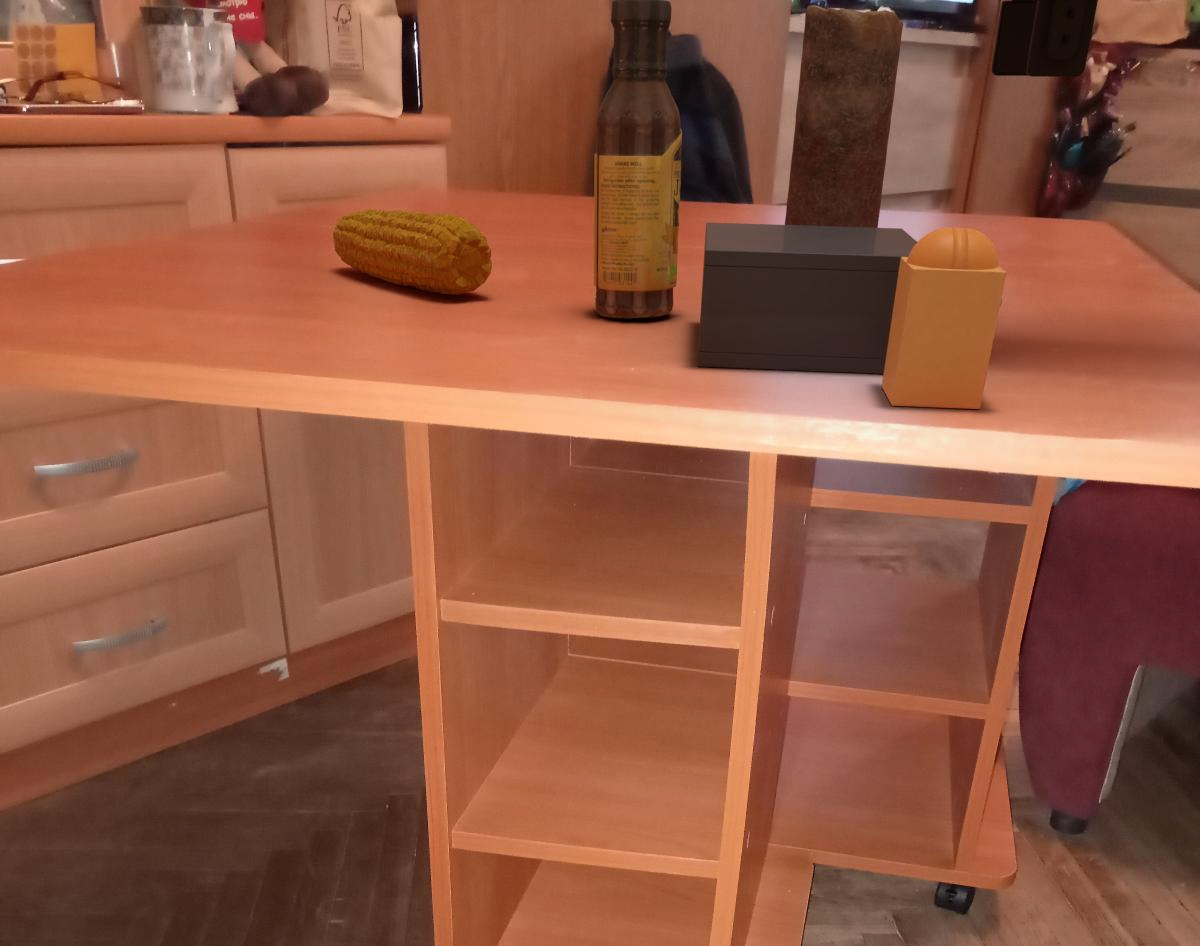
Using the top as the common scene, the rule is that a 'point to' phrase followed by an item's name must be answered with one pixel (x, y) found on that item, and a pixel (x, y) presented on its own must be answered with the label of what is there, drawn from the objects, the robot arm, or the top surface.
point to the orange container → (943, 321)
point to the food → (415, 249)
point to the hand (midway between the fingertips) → (1033, 75)
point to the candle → (843, 117)
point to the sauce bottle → (637, 169)
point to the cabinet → (799, 296)
